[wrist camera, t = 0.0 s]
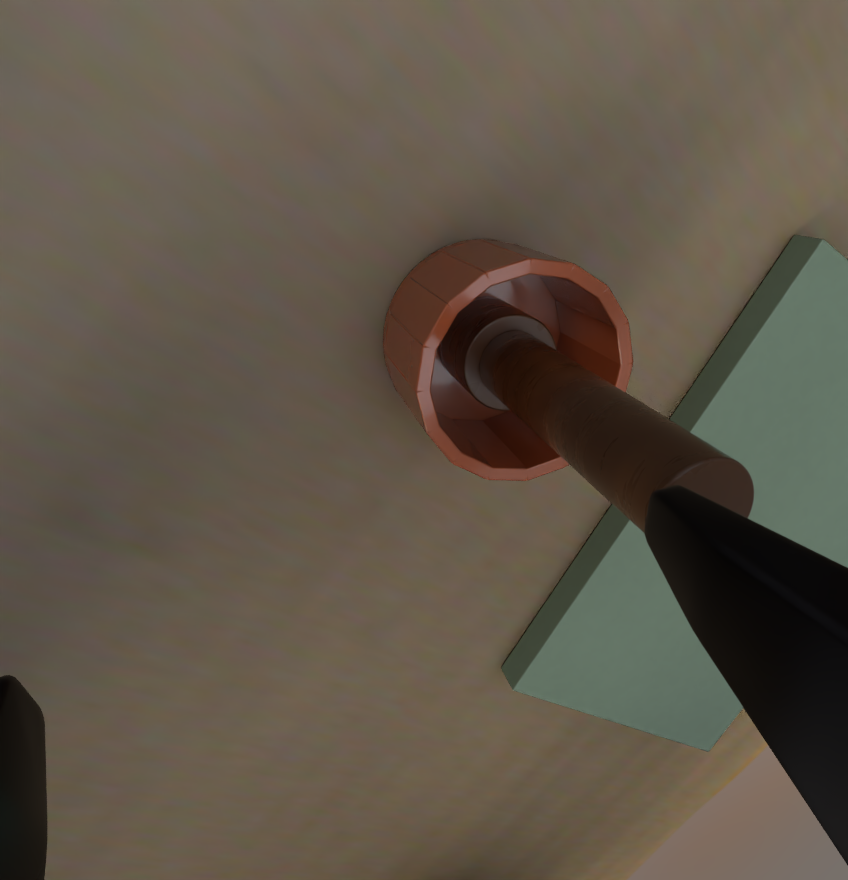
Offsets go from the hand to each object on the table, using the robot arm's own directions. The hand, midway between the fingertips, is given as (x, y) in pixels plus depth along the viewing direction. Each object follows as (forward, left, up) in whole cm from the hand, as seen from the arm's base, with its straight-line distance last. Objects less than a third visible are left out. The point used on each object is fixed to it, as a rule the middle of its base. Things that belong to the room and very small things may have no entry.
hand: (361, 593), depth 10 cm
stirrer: (+3, -6, -15) cm, 16 cm away
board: (+2, -22, -15) cm, 27 cm away
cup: (+3, -6, -15) cm, 17 cm away
